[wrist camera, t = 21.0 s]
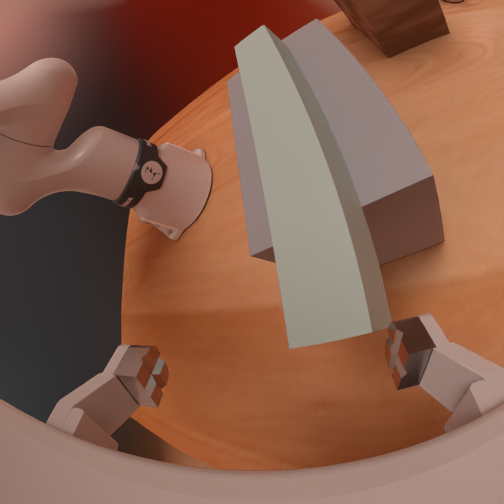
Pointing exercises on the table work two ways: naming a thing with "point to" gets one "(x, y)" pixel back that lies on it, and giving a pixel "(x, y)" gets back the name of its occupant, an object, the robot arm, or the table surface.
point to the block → (349, 151)
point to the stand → (396, 22)
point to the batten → (309, 203)
